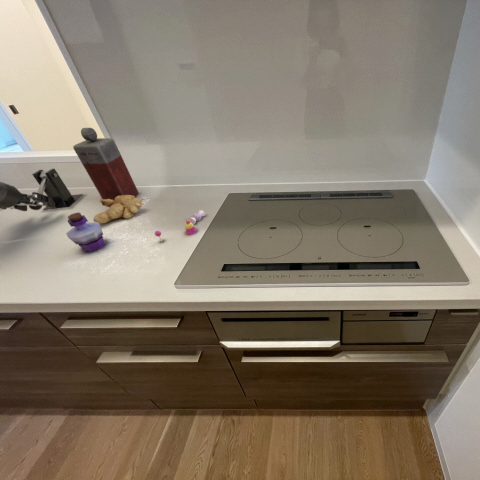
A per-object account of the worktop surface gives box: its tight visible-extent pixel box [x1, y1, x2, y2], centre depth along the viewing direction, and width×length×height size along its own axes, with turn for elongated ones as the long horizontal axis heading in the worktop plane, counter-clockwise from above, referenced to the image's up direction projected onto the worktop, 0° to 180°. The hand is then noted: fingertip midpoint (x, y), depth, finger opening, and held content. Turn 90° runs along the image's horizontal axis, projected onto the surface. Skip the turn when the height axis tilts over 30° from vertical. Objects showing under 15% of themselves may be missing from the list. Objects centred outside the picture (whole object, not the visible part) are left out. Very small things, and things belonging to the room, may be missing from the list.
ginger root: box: [92, 195, 143, 224], centre depth 97 cm, size 16×16×8 cm
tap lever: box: [28, 170, 50, 211], centre depth 96 cm, size 17×3×3 cm, turn 13°
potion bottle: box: [65, 212, 106, 253], centre depth 79 cm, size 9×9×12 cm
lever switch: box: [31, 168, 84, 211], centre depth 102 cm, size 11×9×14 cm
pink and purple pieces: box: [154, 209, 206, 243], centre depth 88 cm, size 18×8×6 cm, turn 163°
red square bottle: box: [72, 127, 140, 200], centre depth 100 cm, size 9×11×28 cm
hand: (39, 207), depth 94 cm, fingers open, 8 cm apart
